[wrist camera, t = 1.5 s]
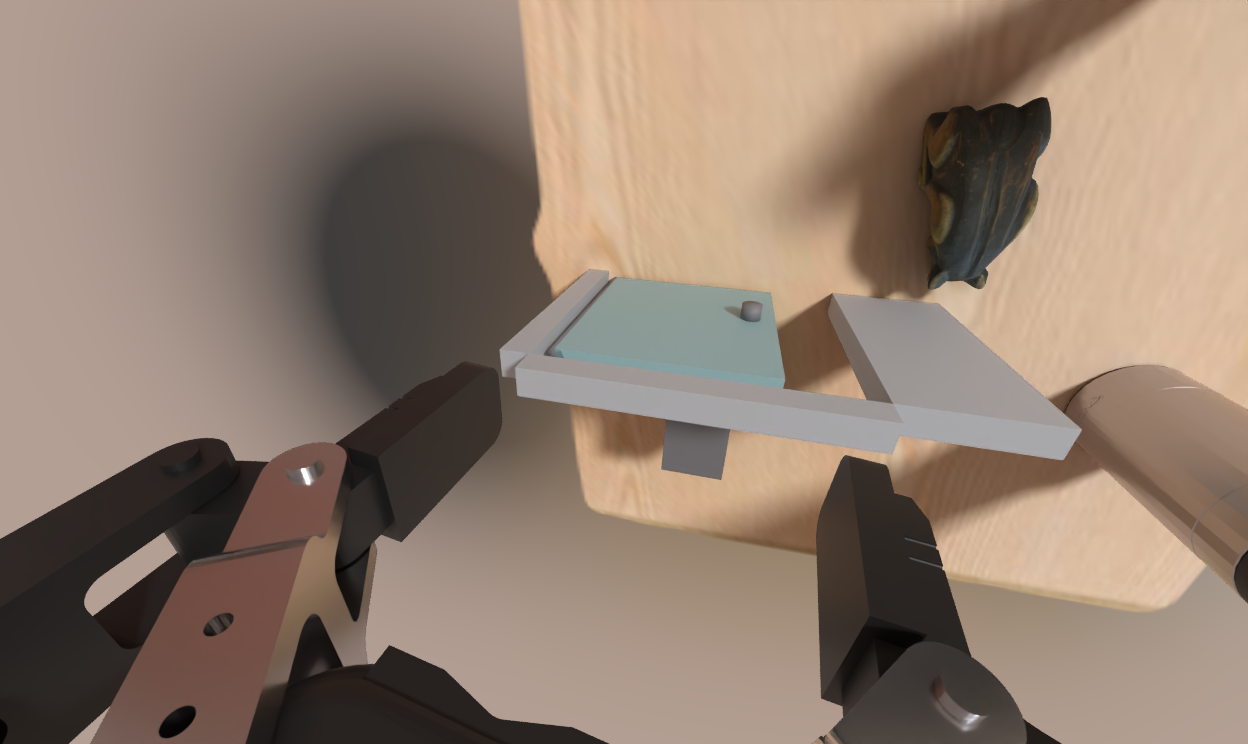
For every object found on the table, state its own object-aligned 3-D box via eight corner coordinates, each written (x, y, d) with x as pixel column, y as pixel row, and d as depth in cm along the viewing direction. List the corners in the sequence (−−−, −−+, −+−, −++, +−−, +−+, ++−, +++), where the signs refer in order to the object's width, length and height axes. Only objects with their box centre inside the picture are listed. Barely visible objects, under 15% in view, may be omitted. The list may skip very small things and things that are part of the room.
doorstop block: (736, 350, 47) (734, 405, 38) (725, 415, 51) (721, 479, 41) (683, 343, 48) (668, 395, 39) (676, 407, 52) (661, 469, 42)
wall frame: (939, 303, 41) (1109, 453, 22) (931, 324, 42) (1087, 485, 23) (589, 269, 47) (484, 362, 28) (589, 288, 48) (487, 391, 29)
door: (773, 280, 43) (789, 361, 28) (768, 304, 44) (781, 395, 29) (611, 264, 45) (545, 330, 30) (610, 288, 47) (547, 362, 32)
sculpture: (983, 276, 39) (1027, 300, 33) (899, 281, 41) (926, 305, 35) (1020, 98, 33) (1080, 88, 27) (920, 112, 35) (957, 106, 29)
